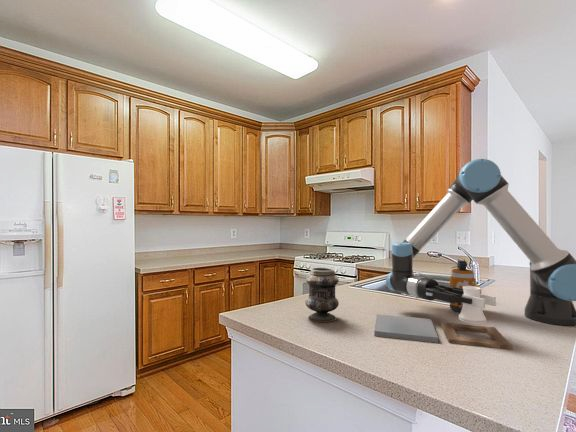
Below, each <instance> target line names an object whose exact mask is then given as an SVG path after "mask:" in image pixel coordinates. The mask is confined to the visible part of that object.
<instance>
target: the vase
mask: <svg viewBox="0 0 576 432" xmlns="http://www.w3.org/2000/svg"><path fill="white" fill-rule="evenodd" d="M463 291H464V295H469V296H473V297H478V298H480V291H481V292H482V288H481V287H480V288H479V287H475V286H463ZM457 317H458V320H460V321H462V322H465V323H469V324H477V325H478V324H479V325H481V324H486V323H487V322H488V321H487V317H486V316H485V314H484V311H483V308H479V307H475V306H471V305H467V304H463V307H462V310H461V312H459V313H458V316H457Z"/></svg>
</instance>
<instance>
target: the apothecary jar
mask: <svg viewBox="0 0 576 432" xmlns="http://www.w3.org/2000/svg"><path fill="white" fill-rule="evenodd" d="M305 280H306V281H305V282H306V283H307V284H308V285H309V287H308V288H309V289H308V290H309V291H308V296H307V297H306V299H305V302H304V303H305V305H306V307H307V309H309V310H310V311H314V313H312V314H309V315H308V316H307V317H308V319H309V321H312V322H315V323H330V322H334V321H335V320H336V316H335V315H334V314H332V313H330V312H332V311H334V310H336V309H337V308H338V307H339V305H340V303H339V302H340V301H339V300H338V299H337V297H336V285H338V284H339V282H340V281H339V277H338V275H336V274H335V270H334V269H333V268H332V267H331V268H329V267H320V266H319V267H311V269H310V273H309V274H308V275H307V276H306V277H305Z"/></svg>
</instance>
